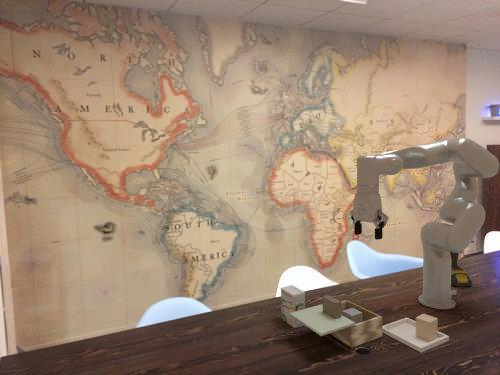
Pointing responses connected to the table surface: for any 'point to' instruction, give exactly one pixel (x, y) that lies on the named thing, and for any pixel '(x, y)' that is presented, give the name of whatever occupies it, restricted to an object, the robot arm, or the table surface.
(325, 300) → the sage lid
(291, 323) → the ink box
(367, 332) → the birch box
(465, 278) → the power drill
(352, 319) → the granite block
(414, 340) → the white tray
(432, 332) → the sandstone block
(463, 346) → the table surface
